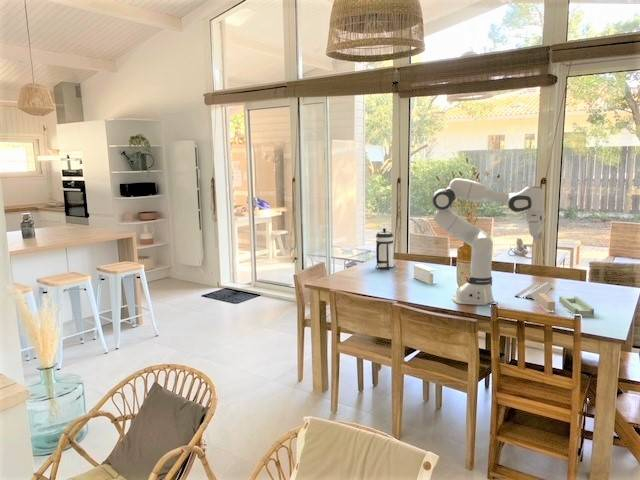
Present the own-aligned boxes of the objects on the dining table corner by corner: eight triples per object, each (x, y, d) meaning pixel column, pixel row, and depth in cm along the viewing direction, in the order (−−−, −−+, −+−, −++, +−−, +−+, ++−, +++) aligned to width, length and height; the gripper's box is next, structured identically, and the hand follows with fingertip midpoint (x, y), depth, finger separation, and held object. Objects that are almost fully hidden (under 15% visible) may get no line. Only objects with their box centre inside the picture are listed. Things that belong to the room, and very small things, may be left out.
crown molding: (533, 286, 303) (534, 280, 302) (554, 289, 295) (554, 283, 294) (514, 297, 281) (514, 291, 280) (535, 301, 272) (536, 295, 272)
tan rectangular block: (547, 313, 251) (548, 302, 250) (537, 303, 267) (537, 293, 266) (554, 313, 251) (555, 301, 250) (543, 303, 267) (544, 293, 266)
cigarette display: (436, 283, 316) (436, 269, 314) (428, 284, 314) (428, 270, 313) (420, 276, 335) (419, 263, 333) (412, 277, 333) (412, 264, 331)
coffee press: (371, 266, 372) (370, 227, 367) (392, 264, 373) (391, 226, 368) (376, 271, 355) (376, 231, 350) (398, 270, 356) (397, 229, 351)
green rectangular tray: (574, 316, 244) (574, 308, 243) (559, 303, 265) (559, 296, 265) (593, 316, 243) (594, 308, 242) (576, 303, 264) (576, 296, 264)
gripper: (533, 213, 271) (535, 237, 273) (526, 219, 255) (528, 244, 257) (545, 212, 268) (547, 236, 270) (539, 218, 251) (541, 244, 253)
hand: (538, 240), depth 263 cm, fingers open, 8 cm apart
